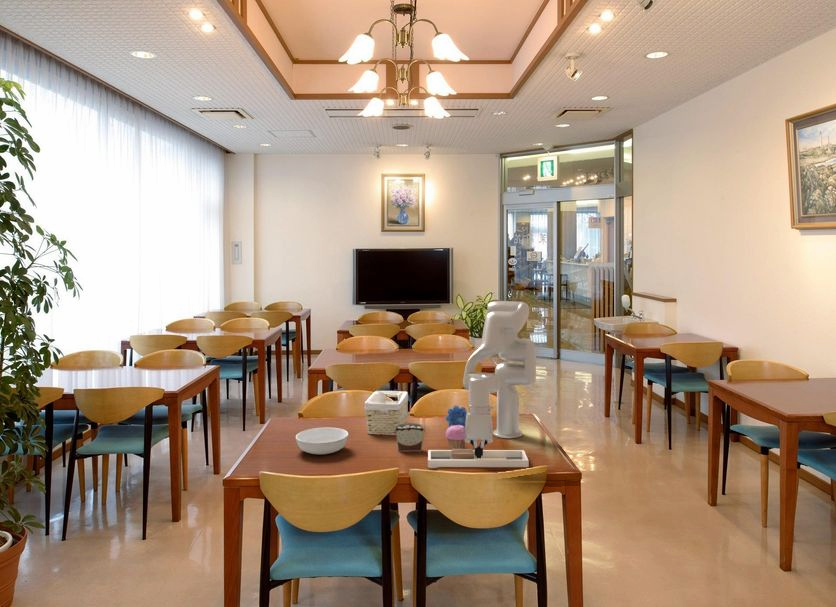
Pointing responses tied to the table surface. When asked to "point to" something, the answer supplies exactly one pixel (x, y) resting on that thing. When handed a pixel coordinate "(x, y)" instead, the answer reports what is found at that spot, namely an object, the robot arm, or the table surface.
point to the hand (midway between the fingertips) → (478, 457)
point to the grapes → (456, 416)
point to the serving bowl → (322, 440)
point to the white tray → (487, 460)
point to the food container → (409, 436)
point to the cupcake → (456, 437)
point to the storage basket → (385, 412)
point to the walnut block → (462, 454)
